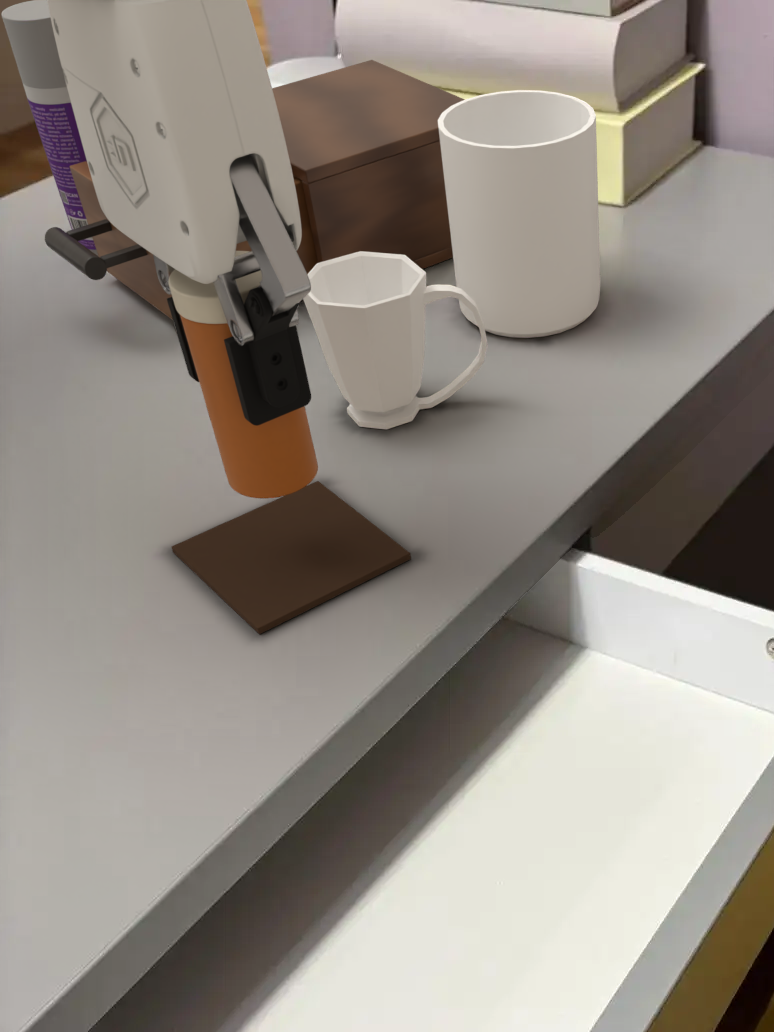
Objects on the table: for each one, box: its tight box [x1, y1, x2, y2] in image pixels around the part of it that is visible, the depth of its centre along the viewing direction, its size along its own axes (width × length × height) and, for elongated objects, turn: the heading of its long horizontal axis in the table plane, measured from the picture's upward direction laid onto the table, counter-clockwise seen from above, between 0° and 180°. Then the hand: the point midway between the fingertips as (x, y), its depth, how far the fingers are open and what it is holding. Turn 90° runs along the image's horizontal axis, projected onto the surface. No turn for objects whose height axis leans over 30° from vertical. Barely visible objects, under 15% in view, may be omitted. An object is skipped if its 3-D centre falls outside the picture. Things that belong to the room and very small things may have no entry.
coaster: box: [170, 480, 412, 635], centre depth 65 cm, size 9×9×1 cm
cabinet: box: [272, 59, 465, 270], centre depth 87 cm, size 15×15×9 cm
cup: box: [302, 251, 488, 430], centre depth 71 cm, size 7×10×8 cm
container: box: [1, 0, 98, 256], centre depth 86 cm, size 5×5×15 cm
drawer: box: [44, 161, 318, 321], centre depth 82 cm, size 18×13×7 cm
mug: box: [438, 89, 601, 339], centre depth 79 cm, size 10×12×12 cm
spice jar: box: [169, 251, 319, 499], centre depth 57 cm, size 5×5×10 cm
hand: (250, 387), depth 58 cm, fingers closed on spice jar, 4 cm apart
